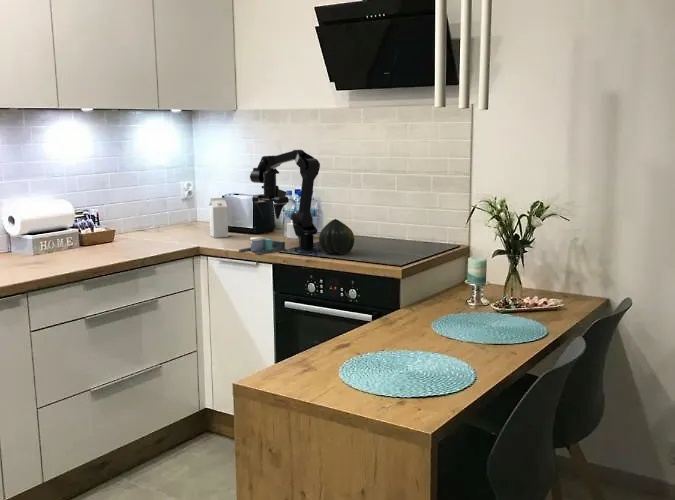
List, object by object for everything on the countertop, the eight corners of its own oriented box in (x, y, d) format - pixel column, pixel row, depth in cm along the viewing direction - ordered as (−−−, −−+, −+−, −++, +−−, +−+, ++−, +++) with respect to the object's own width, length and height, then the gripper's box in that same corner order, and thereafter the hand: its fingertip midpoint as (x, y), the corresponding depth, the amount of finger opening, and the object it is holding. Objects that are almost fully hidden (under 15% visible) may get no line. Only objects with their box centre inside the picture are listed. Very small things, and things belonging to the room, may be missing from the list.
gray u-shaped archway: (266, 246, 330) (266, 239, 330) (284, 249, 322) (284, 241, 322) (238, 251, 318) (238, 243, 318) (257, 254, 311) (257, 246, 310)
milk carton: (210, 236, 364) (208, 197, 360) (224, 235, 367) (222, 197, 363) (213, 238, 357) (212, 199, 354) (228, 237, 360) (226, 198, 357)
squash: (339, 245, 300) (350, 214, 307) (308, 243, 308) (320, 214, 315) (353, 263, 311) (363, 234, 317) (323, 261, 318) (334, 233, 325)
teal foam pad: (258, 248, 325) (258, 237, 324) (272, 250, 319) (272, 239, 318) (255, 249, 323) (255, 237, 322) (269, 251, 318) (268, 239, 317)
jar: (255, 251, 314) (254, 239, 313) (247, 250, 319) (247, 237, 318) (266, 250, 318) (266, 237, 317) (259, 248, 322) (259, 236, 321)
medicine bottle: (298, 239, 352) (297, 214, 350) (286, 238, 356) (286, 213, 354) (307, 237, 357) (307, 212, 355) (296, 236, 361) (295, 211, 359)
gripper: (297, 183, 333) (297, 217, 336) (268, 181, 346) (269, 214, 348) (279, 185, 325) (279, 220, 328) (250, 183, 337) (251, 217, 340)
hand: (270, 218), depth 336 cm, fingers open, 9 cm apart
